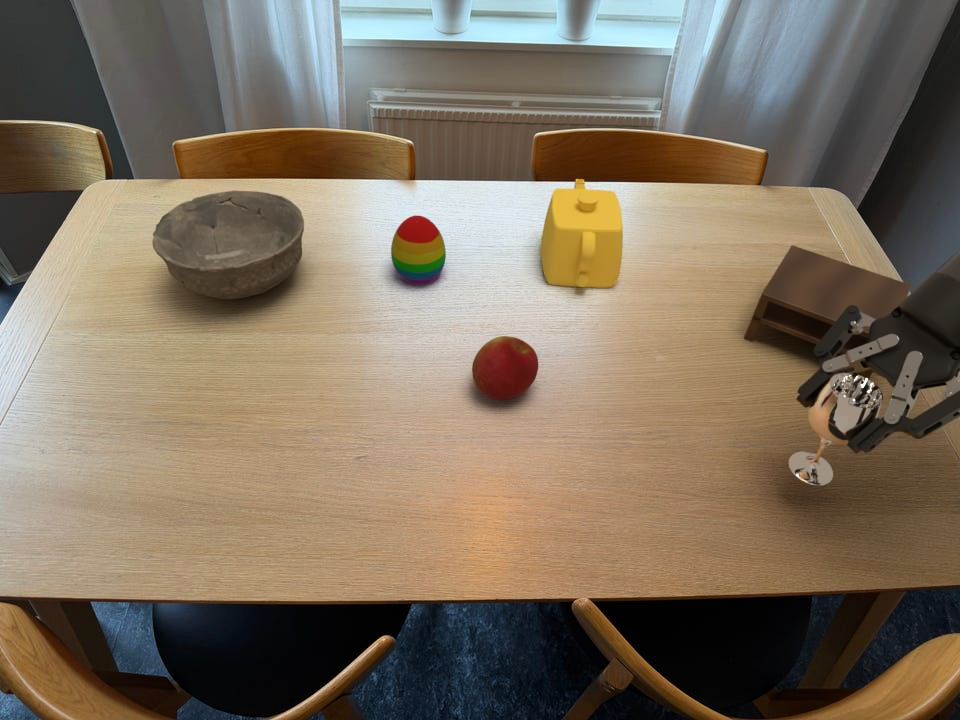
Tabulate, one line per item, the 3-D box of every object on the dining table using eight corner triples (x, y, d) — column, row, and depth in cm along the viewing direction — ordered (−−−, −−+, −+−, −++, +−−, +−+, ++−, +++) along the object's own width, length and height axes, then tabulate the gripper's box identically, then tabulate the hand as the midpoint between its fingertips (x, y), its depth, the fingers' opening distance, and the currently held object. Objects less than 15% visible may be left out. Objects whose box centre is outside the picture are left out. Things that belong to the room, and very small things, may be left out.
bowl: (343, 274, 101) (334, 218, 94) (235, 346, 89) (216, 288, 82) (253, 228, 110) (239, 174, 103) (143, 289, 98) (119, 231, 91)
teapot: (538, 223, 113) (545, 159, 104) (611, 226, 112) (623, 162, 104) (540, 296, 98) (547, 228, 90) (623, 300, 98) (637, 233, 90)
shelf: (885, 329, 94) (911, 284, 89) (863, 386, 86) (891, 341, 80) (773, 288, 101) (791, 244, 95) (743, 338, 92) (761, 293, 87)
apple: (527, 418, 81) (532, 372, 75) (464, 403, 82) (465, 357, 77) (540, 376, 86) (546, 330, 81) (481, 363, 88) (482, 317, 82)
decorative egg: (391, 290, 99) (386, 233, 92) (394, 258, 104) (389, 203, 97) (446, 290, 99) (444, 233, 92) (446, 258, 105) (445, 203, 98)
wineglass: (815, 441, 72) (859, 363, 64) (851, 482, 68) (904, 404, 60) (770, 454, 71) (810, 375, 63) (805, 497, 67) (852, 419, 59)
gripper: (897, 239, 61) (760, 367, 66) (1050, 331, 52) (878, 473, 56) (911, 271, 67) (783, 388, 71) (1051, 360, 57) (894, 488, 62)
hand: (826, 425), depth 64 cm, fingers closed on wineglass, 5 cm apart
